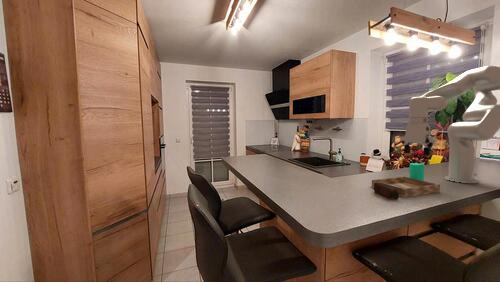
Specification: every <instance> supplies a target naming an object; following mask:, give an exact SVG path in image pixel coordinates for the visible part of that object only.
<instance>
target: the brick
mask: <svg viewBox="0 0 500 282" xmlns="http://www.w3.org/2000/svg"><path fill="white" fill-rule="evenodd" d="M373 191H374V193H375V194H378V195H379V196H381V197H382V198H385V199H388V200H398V199H399V197H400V196H399V193H398V192H397V189H396V188H394V187H391V186H388V185H386V184H384V183H374V187H373Z"/></svg>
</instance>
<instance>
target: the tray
mask: <svg viewBox="0 0 500 282" xmlns="http://www.w3.org/2000/svg"><path fill="white" fill-rule="evenodd" d="M374 183H384V184H386V185H388V186H391V187H394V188H396V189H397V192H398V193H399V197H403V198H407V197H409V198H410V197H415V196H421V195H427V194H435V193H439V192H440V189H441V187H440V186H441V184H439V183H434V182H430V181H425V180H424V181H422V180H417V179H413V178H409V177H408V176H404V175H403V176H396V177H387V178H386V177H385V178H379V179H378V178H377V179H371V187H372V188H374Z"/></svg>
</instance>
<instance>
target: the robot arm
mask: <svg viewBox="0 0 500 282" xmlns="http://www.w3.org/2000/svg"><path fill="white" fill-rule="evenodd" d="M471 89H473V93H474V100H473V101H472V102H471V104H469V106H468V108H467V109H466V110H465V111H464V113H463V114H462V121H456V122H453V123H451V124H450V125H449V126H447V127H448V128H447V130H446V131H447V136H448V140H449V147H448V149H449V152H448V175H445V176H444V180H446V181H449V180H450V181H449V182H453V181H455V182H454V183H459V182H461V183H462V184H477V183H478V182H479V181H478V179H476V178H474V177H478V173H477V172H474V170H475V155H476V154H475V152H476V147H475V145H474V143H473V142H472V141H479V142H480V141H481V142H482V141H483V142H484V141H488V140H490V139H492V138H493V137H494V136H495V135H496V133H497V132H498V131H499V130H500V104H497V103H498V99H497V97H496V96H495V94H493V91H500V66H498V65H497V66H496V65H495V66H494V65H486V66H481V67H478V68H472V69H470V70H466V71H465V72H463V73H461V74H460V75H459V76H457V77H455V78H454V79H453V80H451V81H449V82H448V83H446V84H444V85H442V86H439V87H437V88H435V89H433V90H430V91H428V92H426V93H424V94H423V95H421V96H414V97H411V98H410V99H409V105H408V109H409V110H408V123H407V124H406V125H407V126H406V128H405V133H404V134H405V135H403V136H400V142H401V144H402V145H403V147H404V150H403V153H404V154H410V153H411V144H422V146H424V147H423V150H422V152H423V153H422V154H423V155H422V156H425V157H426V156H427V157H428V156H430V154H431V148H432V147H433V146H434V145H435V143H436V142H437V138H435V137H433V136H432V133H431V126H430V123H428V122H430V120H431V119H430V118H428V116H429V115H428V114H429V113H430V112H431V113H432V112H440V111H443V110H445V109H446V108H447V106H448V104H449V103H448V100H453V99H455V98H458V97H461V96H462V95H463V94H465V93H467V92H468V91H469V90H471ZM461 183H460V184H461Z"/></svg>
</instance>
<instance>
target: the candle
mask: <svg viewBox="0 0 500 282" xmlns="http://www.w3.org/2000/svg"><path fill="white" fill-rule="evenodd" d="M408 178H413V179H417V180H422V181H425V163H418V162H414V163H413V162H410V163H409V177H408Z"/></svg>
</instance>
